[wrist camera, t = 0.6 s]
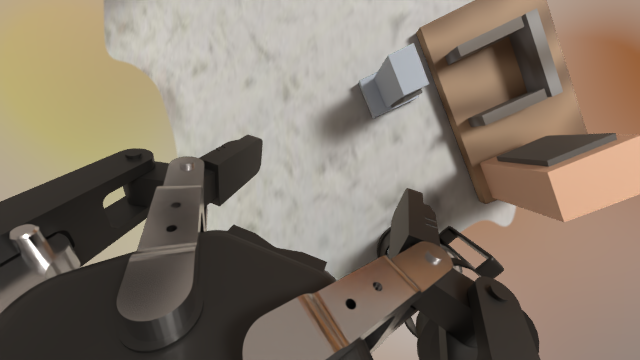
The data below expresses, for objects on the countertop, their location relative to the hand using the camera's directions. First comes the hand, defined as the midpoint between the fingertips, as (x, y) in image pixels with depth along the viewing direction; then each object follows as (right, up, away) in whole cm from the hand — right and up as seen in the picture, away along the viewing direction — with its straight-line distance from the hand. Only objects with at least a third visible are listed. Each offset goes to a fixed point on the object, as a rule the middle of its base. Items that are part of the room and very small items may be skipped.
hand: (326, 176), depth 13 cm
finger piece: (+9, +12, +19) cm, 24 cm away
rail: (+23, +11, +18) cm, 31 cm away
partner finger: (+25, +1, +18) cm, 31 cm away
